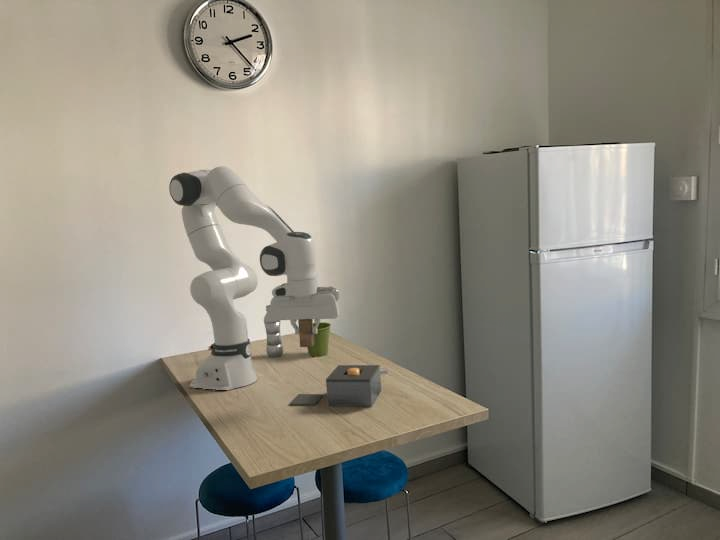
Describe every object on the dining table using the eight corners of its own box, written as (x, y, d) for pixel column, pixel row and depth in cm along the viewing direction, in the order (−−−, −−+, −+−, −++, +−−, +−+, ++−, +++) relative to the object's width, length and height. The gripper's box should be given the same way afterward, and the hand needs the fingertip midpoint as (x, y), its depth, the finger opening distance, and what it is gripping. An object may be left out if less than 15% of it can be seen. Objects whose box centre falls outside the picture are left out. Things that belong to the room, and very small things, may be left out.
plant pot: (298, 358, 215) (295, 329, 213) (310, 349, 226) (307, 322, 225) (327, 359, 211) (325, 329, 210) (338, 350, 223) (335, 322, 221)
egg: (347, 391, 167) (345, 371, 166) (350, 387, 170) (348, 367, 169) (359, 391, 166) (357, 371, 165) (362, 387, 169) (360, 367, 169)
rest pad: (289, 405, 167) (289, 403, 167) (298, 395, 174) (298, 393, 174) (315, 405, 165) (314, 404, 165) (323, 395, 172) (323, 394, 172)
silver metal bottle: (275, 352, 226) (270, 303, 223) (287, 354, 222) (282, 304, 219) (263, 357, 220) (258, 307, 218) (276, 359, 216) (270, 307, 214)
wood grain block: (302, 343, 170) (300, 317, 169) (314, 343, 169) (312, 317, 168) (300, 347, 166) (298, 320, 165) (311, 346, 166) (309, 320, 165)
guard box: (328, 405, 164) (325, 379, 163) (340, 390, 176) (338, 365, 175) (372, 406, 161) (369, 379, 159) (381, 390, 173) (379, 365, 172)
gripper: (339, 284, 167) (342, 330, 169) (272, 287, 170) (276, 331, 172) (336, 288, 161) (339, 335, 163) (266, 291, 164) (270, 337, 166)
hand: (306, 333), depth 168 cm, fingers closed on wood grain block, 3 cm apart
